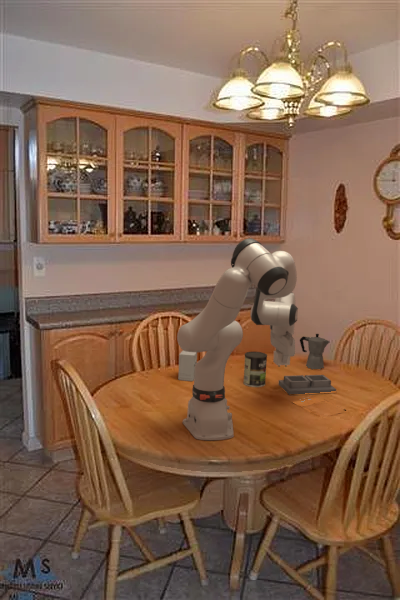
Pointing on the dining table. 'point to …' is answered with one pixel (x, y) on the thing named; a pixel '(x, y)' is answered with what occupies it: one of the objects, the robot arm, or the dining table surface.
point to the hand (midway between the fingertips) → (281, 360)
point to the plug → (280, 359)
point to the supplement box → (187, 365)
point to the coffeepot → (315, 351)
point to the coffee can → (255, 369)
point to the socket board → (306, 384)
